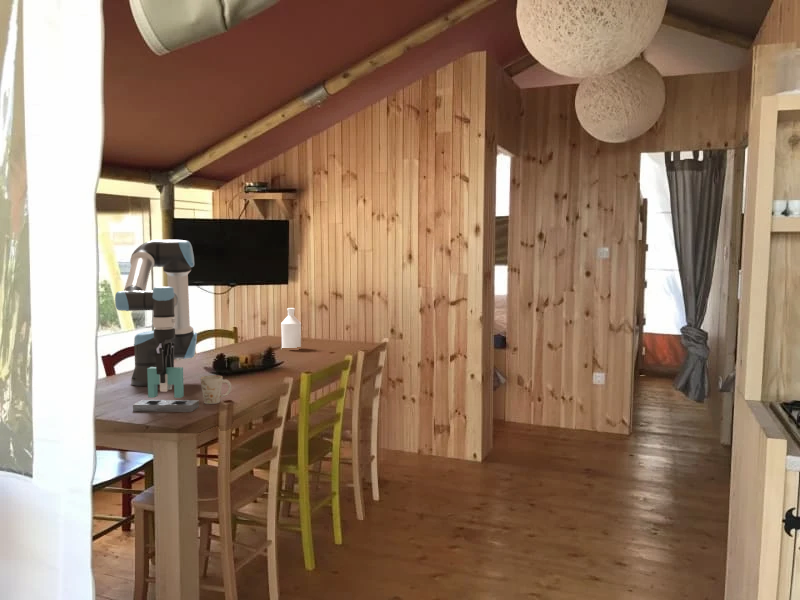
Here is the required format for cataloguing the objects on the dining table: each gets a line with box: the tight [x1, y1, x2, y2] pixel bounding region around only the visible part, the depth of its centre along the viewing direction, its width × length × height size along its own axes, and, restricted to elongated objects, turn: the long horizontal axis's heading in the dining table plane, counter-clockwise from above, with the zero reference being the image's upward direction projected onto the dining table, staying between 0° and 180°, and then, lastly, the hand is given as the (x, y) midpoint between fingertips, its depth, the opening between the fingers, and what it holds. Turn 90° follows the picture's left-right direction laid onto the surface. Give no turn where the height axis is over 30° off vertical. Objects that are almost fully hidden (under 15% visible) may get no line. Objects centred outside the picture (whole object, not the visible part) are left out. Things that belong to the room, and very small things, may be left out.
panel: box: [147, 366, 185, 399], centre depth 244 cm, size 12×3×11 cm, turn 88°
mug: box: [200, 374, 232, 405], centre depth 257 cm, size 8×13×10 cm, turn 135°
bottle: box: [280, 307, 302, 349], centre depth 391 cm, size 12×12×25 cm
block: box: [132, 399, 200, 413], centre depth 244 cm, size 22×8×2 cm, turn 88°
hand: (165, 390), depth 244 cm, fingers closed on panel, 3 cm apart
